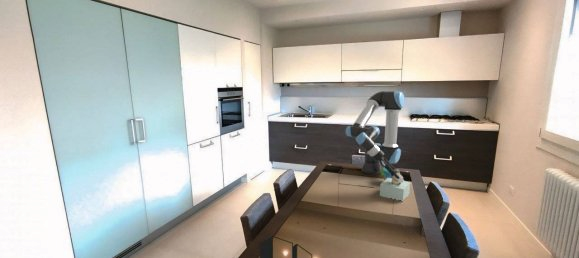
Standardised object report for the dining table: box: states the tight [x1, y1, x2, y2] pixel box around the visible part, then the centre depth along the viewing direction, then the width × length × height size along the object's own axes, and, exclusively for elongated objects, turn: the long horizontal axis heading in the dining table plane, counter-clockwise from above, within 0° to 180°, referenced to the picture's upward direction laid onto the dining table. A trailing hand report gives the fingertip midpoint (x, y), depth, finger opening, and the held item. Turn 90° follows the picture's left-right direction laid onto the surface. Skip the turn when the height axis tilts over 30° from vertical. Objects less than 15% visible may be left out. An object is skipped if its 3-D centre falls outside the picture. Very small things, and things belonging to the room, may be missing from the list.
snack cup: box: [380, 167, 399, 181], centre depth 184 cm, size 16×10×10 cm
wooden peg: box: [392, 168, 400, 186], centre depth 163 cm, size 4×4×12 cm
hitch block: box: [379, 178, 411, 202], centre depth 164 cm, size 14×14×8 cm
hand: (401, 180), depth 162 cm, fingers open, 5 cm apart
